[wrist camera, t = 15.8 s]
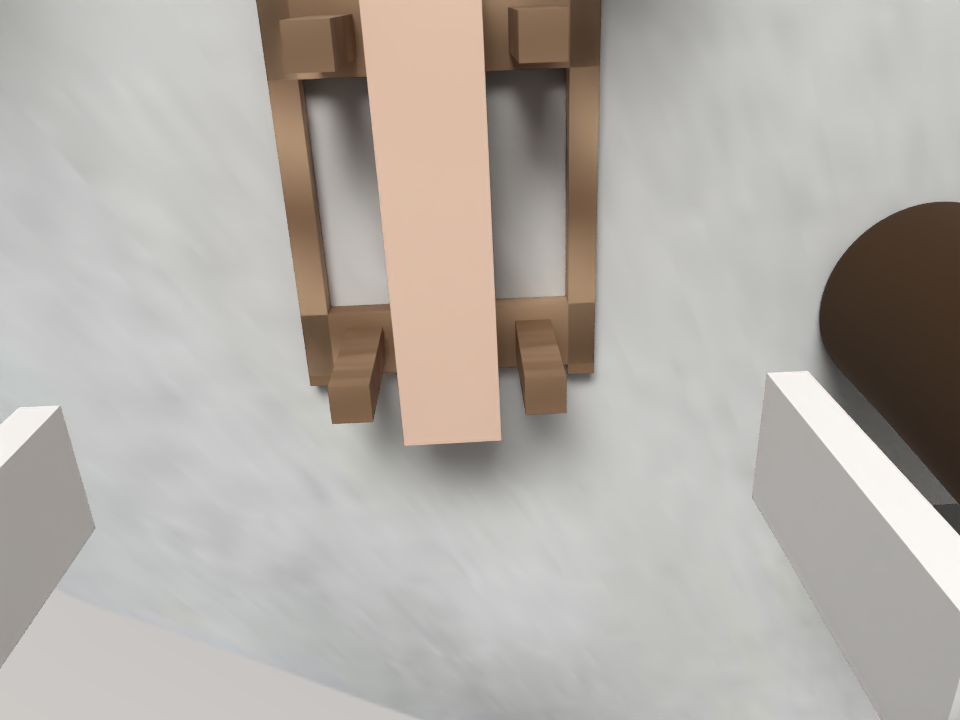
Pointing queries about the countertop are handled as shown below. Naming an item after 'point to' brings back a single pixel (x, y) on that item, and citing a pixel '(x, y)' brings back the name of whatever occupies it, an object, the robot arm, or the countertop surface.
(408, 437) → the clay strip
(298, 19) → the rack
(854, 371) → the olive oil
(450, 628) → the countertop surface
